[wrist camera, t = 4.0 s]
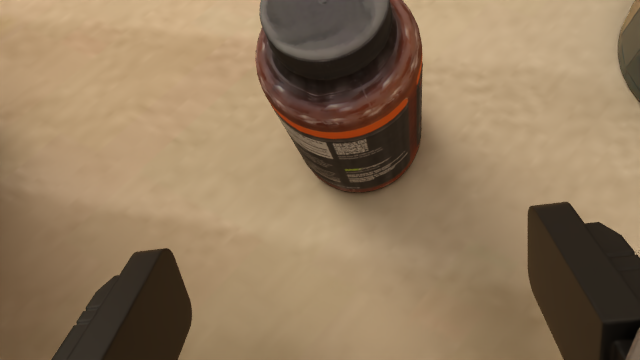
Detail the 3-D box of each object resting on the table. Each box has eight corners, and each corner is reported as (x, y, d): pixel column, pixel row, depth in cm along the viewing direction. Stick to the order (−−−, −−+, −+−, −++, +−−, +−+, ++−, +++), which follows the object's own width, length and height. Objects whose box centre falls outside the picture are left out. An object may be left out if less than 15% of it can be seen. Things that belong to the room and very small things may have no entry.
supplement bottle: (372, 63, 28) (347, -116, 17) (446, 147, 26) (471, 4, 15) (279, 130, 27) (194, -9, 17) (346, 220, 25) (298, 128, 15)
